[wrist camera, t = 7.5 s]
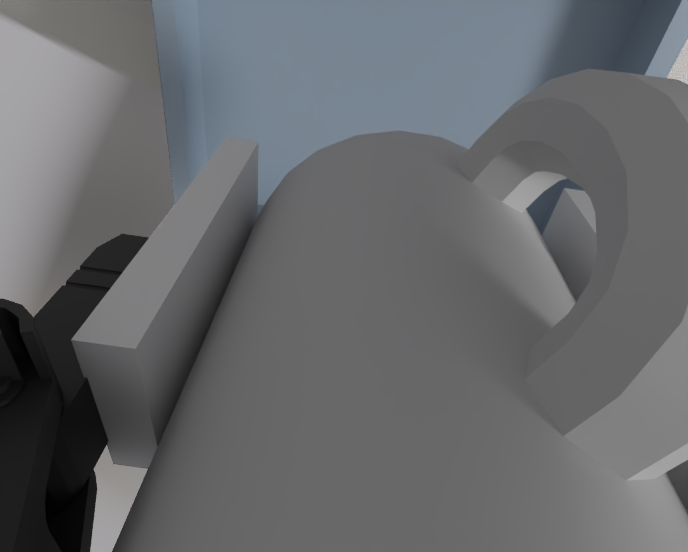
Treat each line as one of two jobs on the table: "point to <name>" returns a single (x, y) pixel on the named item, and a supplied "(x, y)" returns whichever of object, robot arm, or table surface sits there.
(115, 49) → the table surface
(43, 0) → the table surface
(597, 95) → the cup
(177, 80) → the cart
